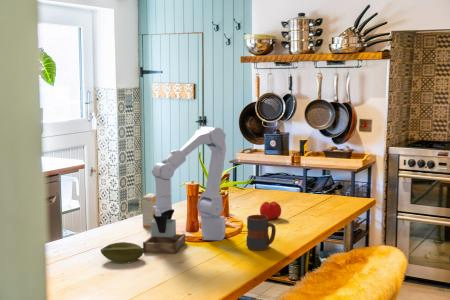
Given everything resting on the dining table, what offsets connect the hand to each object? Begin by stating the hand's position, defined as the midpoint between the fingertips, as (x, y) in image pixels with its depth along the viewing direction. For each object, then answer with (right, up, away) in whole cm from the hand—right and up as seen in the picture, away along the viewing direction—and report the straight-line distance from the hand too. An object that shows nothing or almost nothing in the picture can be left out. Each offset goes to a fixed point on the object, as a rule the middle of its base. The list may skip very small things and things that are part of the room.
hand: (164, 230), depth 222 cm
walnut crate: (0, -7, +1) cm, 7 cm away
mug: (+36, -7, -1) cm, 37 cm away
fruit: (-13, -9, -13) cm, 21 cm away
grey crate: (0, -2, 0) cm, 2 cm away
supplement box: (-9, -2, +35) cm, 36 cm away
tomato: (+43, -1, +43) cm, 61 cm away
